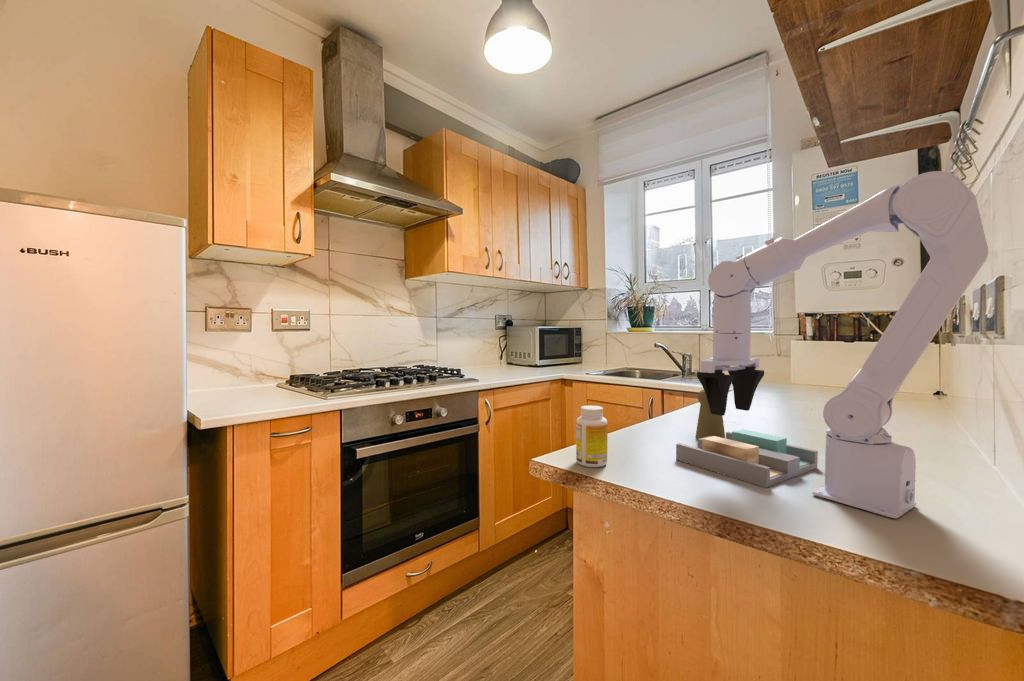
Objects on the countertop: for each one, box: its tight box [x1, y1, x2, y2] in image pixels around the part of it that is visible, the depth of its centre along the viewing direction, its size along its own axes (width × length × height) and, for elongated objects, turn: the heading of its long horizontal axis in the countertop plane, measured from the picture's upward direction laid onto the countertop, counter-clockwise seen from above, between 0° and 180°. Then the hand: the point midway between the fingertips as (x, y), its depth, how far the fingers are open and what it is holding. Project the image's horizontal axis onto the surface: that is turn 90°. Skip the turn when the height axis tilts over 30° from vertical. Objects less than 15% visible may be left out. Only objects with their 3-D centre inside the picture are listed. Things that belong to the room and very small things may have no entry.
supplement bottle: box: [575, 404, 608, 468], centre depth 76 cm, size 6×6×10 cm
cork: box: [694, 389, 726, 441], centre depth 92 cm, size 6×6×11 cm
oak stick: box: [702, 436, 759, 464], centre depth 73 cm, size 8×4×4 cm, turn 32°
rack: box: [675, 431, 819, 489], centre depth 75 cm, size 16×17×3 cm
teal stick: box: [731, 428, 788, 454], centre depth 78 cm, size 8×4×4 cm, turn 32°
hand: (730, 412), depth 73 cm, fingers open, 7 cm apart
